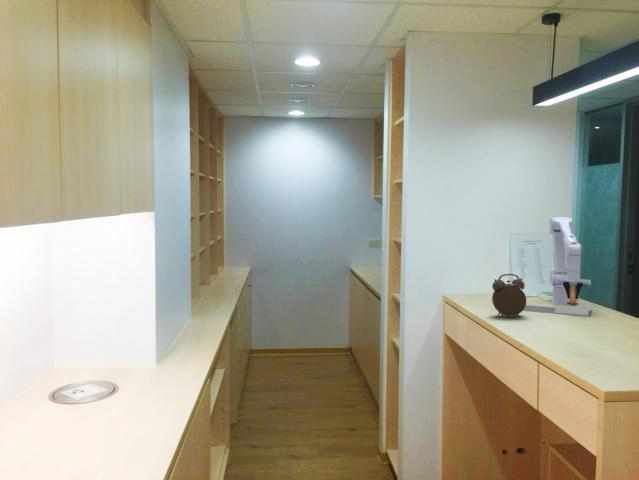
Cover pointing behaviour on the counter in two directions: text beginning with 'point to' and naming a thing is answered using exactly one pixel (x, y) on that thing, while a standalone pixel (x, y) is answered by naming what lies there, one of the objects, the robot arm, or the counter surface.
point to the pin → (572, 294)
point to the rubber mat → (546, 310)
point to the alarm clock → (509, 296)
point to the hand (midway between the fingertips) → (572, 298)
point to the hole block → (572, 308)
